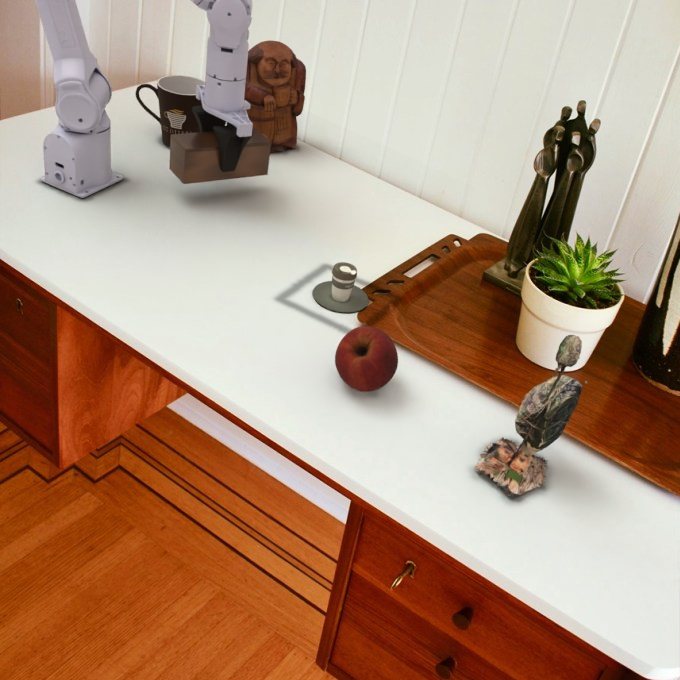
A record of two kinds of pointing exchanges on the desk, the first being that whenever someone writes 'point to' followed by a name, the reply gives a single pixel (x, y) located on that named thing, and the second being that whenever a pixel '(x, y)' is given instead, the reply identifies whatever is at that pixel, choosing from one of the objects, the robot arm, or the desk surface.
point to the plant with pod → (535, 427)
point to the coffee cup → (341, 291)
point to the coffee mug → (175, 104)
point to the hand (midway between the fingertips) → (219, 162)
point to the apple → (366, 359)
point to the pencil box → (215, 157)
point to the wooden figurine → (275, 92)
